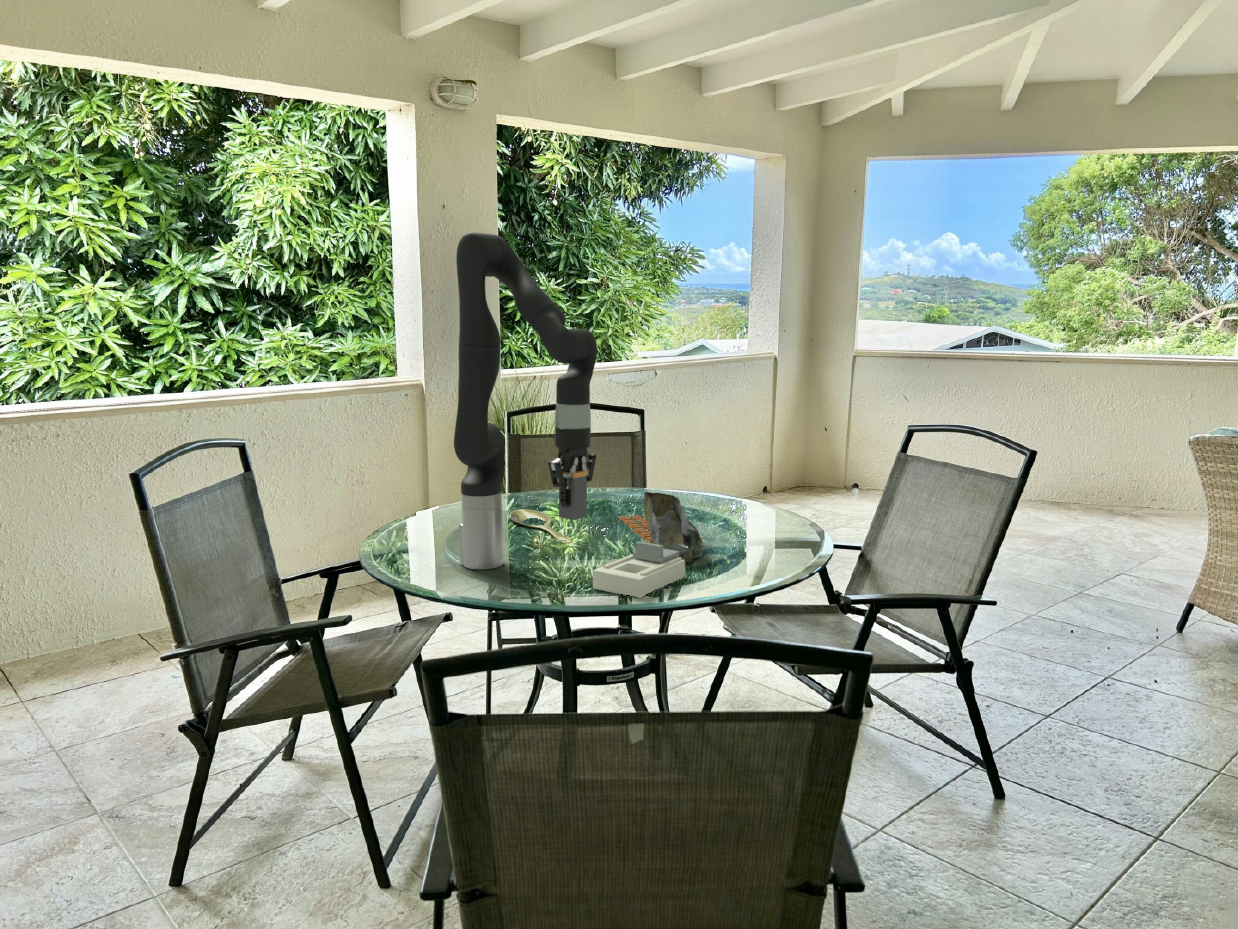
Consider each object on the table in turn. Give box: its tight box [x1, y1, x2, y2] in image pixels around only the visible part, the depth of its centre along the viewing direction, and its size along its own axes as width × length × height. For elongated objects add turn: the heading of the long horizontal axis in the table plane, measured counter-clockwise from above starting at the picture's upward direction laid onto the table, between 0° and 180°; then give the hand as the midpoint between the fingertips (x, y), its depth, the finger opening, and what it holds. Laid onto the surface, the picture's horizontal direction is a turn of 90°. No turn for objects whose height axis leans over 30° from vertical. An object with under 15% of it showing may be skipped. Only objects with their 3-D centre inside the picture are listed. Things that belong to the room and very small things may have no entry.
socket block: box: [592, 553, 686, 598], centre depth 198 cm, size 12×18×4 cm, turn 145°
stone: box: [643, 491, 705, 563], centre depth 225 cm, size 17×10×30 cm
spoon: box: [509, 508, 573, 544], centre depth 247 cm, size 35×11×2 cm, turn 27°
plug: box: [558, 470, 588, 521], centre depth 194 cm, size 4×4×10 cm
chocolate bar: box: [617, 514, 702, 543], centre depth 247 cm, size 14×30×1 cm, turn 17°
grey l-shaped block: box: [632, 540, 679, 563], centre depth 202 cm, size 8×7×4 cm
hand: (572, 503), depth 194 cm, fingers closed on plug, 4 cm apart
